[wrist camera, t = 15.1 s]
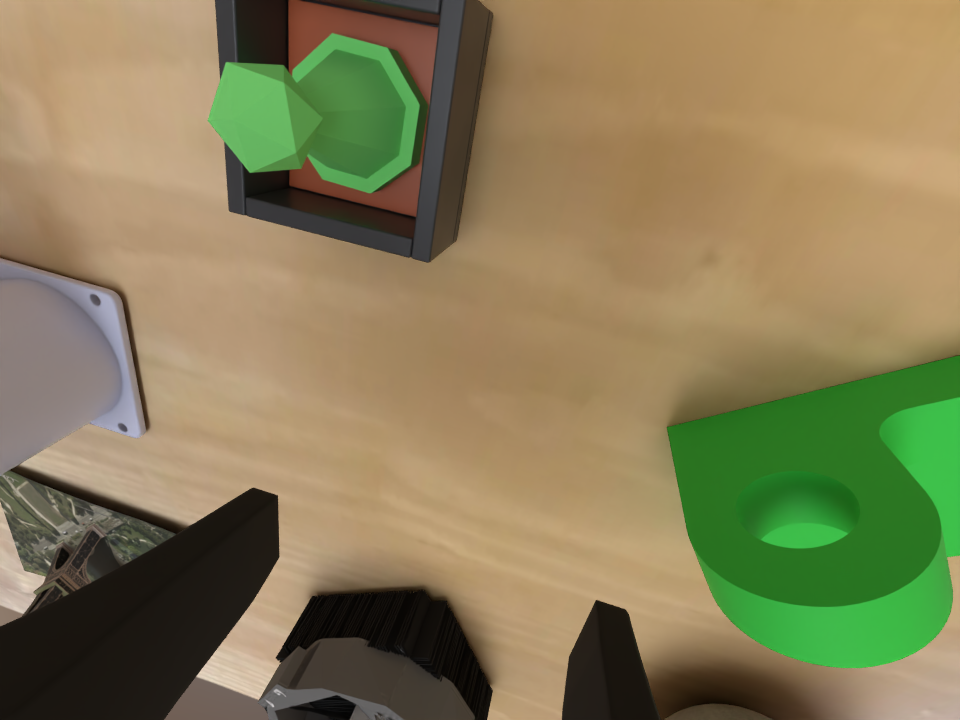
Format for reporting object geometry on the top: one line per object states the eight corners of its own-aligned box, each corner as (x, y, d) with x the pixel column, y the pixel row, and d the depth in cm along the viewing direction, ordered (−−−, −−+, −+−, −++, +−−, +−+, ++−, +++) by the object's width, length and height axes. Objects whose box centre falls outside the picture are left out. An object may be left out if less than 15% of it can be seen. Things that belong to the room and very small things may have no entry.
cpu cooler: (489, 828, 23) (320, 806, 27) (510, 703, 28) (365, 698, 32) (406, 692, 20) (223, 687, 23) (446, 576, 25) (291, 586, 28)
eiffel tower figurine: (215, 534, 28) (-69, 838, 16) (226, 638, 32) (13, 929, 21) (-7, 456, 29) (-413, 680, 18) (34, 566, 34) (-262, 799, 22)
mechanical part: (711, 543, 20) (767, 769, 13) (666, 427, 18) (704, 619, 11) (1107, 483, 16) (1516, 782, 9) (1101, 320, 14) (1618, 532, 7)
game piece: (441, 181, 15) (357, 214, 10) (322, 199, 17) (192, 236, 11) (413, 20, 14) (293, -41, 8) (282, 52, 15) (105, 17, 10)
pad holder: (284, 197, 18) (227, 211, 15) (281, -28, 14) (209, -61, 12) (456, 241, 17) (429, 263, 14) (493, 13, 14) (467, -12, 11)
